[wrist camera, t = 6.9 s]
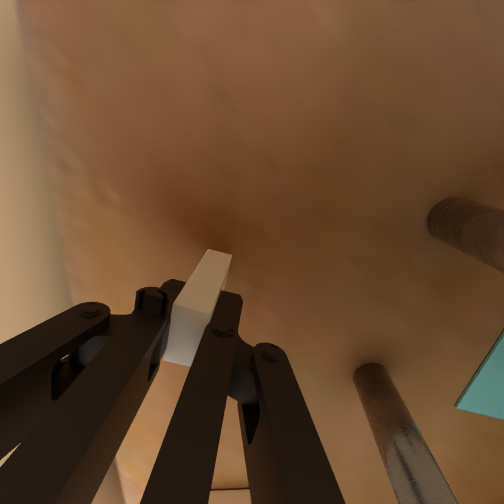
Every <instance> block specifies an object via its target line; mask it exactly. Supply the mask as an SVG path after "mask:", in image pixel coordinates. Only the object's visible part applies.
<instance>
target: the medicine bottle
mask: <svg viewBox="0 0 504 504" xmlns="http://www.w3.org/2000/svg"><path fill="white" fill-rule="evenodd" d="M208 504H251V497H250V490H249V489H241V490H215V491H210V496H209V502H208Z"/></svg>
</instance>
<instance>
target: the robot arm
mask: <svg viewBox="0 0 504 504" xmlns="http://www.w3.org/2000/svg"><path fill="white" fill-rule="evenodd" d="M231 258H232V255H231V254H227V253H223V252H219V251H215V250H211V249H208V250H207V251H206V253H205V254H204V256H203V257H202V259H201V261H200V262H199V264H198V265H197V267H196V268H195V270H194V272H193V273H192V275H191V276H190V278H189V279H188V281H187V282H183V281H179V280H175V279H171V280H169V281H166V282H164V284H163V285H162V286H161V287H160V288H158V287H145V288H142V289H139V290H138V291H136V300H135V308H134V311H133V312H132V313H131V314H128V315H113V314H110V311H111V310H110V308H109V307H108V306H107V305H105V304H103V303H99V302H86V303H81V304H78V305H76V306H74V307H72V308H70V309H68V310H66V311H64V312H62V313H60V314H58V315H56V316H54V317H52V318H50V319H48V320H46V321H44V322H43V323H41V324H39V325H37V326H35V327H33V328H31V329H29V330H27V331H25V332H23V333H21V334H19V335H17V336H15V337H14V338H11V339H9V340H7V341H5V342H4V343H2V344H0V460H1V459H2V458H3V457H5V456H6V455H7V454H8V453H9V452H10V451H12V450H13V449H14V448H15V447H16V446H18V445H19V444H20V443H21V444H20V445H19V446H18V447H17V448H16V449H15V451H14V452H13V453H12V454H11V455H10V457H9V458H8V459H7V460H6V461H5V462H4V464H3V465H2V466H1V467H0V504H91V503H92V501H93V499H94V496H95V495H96V493H97V491H98V489H99V487H100V485H101V483H102V481H103V479H104V477H105V475H106V473H107V471H108V469H109V467H110V465H111V463H112V461H113V459H114V457H115V455H116V453H117V451H118V449H119V447H120V445H121V443H122V441H123V439H124V437H125V435H126V433H127V431H128V429H129V427H130V425H131V423H132V422H133V420H134V418H135V416H136V414H137V412H138V410H139V408H140V406H141V404H142V402H143V400H144V398H145V396H146V394H147V392H148V390H149V388H150V386H151V384H152V382H153V380H154V378H155V376H156V374H157V372H158V370H159V366H160V360H161V358H162V356H163V354H164V359H163V360H164V361H168V362H172V363H176V364H180V365H185V366H189V367H190V370H189V373H188V375H187V378H186V381H185V383H184V386H183V389H182V391H181V394H180V397H179V400H178V402H177V405H176V408H175V410H174V413H173V416H172V418H171V421H170V424H169V426H168V429H167V432H166V435H165V437H164V440H163V443H162V445H161V448H160V451H159V453H158V456H157V459H156V461H155V464H154V467H153V470H152V472H151V475H150V478H149V480H148V483H147V486H146V488H145V491H144V494H143V496H142V499H141V502H140V504H208V502H209V496H210V490H211V485H212V479H213V473H214V468H215V462H216V457H217V451H218V445H219V440H220V434H221V428H222V423H223V417H224V411H225V406H226V400H227V395H228V396H230V397H232V398H233V399H235V400H237V401H238V404H237V406H238V413H239V420H240V427H241V434H242V441H243V448H244V455H245V462H246V469H247V476H248V483H249V490H250V497H251V504H345V501H344V499H343V496H342V494H341V491H340V489H339V486H338V484H337V481H336V478H335V476H334V473H333V471H332V468H331V466H330V463H329V461H328V458H327V456H326V453H325V451H324V448H323V446H322V443H321V441H320V438H319V436H318V433H317V431H316V428H315V426H314V423H313V421H312V418H311V415H310V413H309V410H308V408H307V405H306V403H305V400H304V398H303V395H302V393H301V390H300V388H299V385H298V383H297V380H296V378H295V375H294V373H293V370H292V368H291V365H290V363H289V360H288V358H287V355H286V354H285V352H284V351H283V350H282V349H281V348H280V347H278V346H276V345H274V344H271V343H259V344H257V345H256V346H255V347H253V346H251V345H249V344H247V343H245V342H244V341H243V340H242V339H241V338H240V336H239V334H238V327H239V321H240V315H241V310H242V304H243V300H242V298H241V296H240V295H238V294H234V293H230V292H226V291H224V288H225V284H226V279H227V275H228V271H229V267H230V263H231ZM164 352H165V353H164ZM66 355H68V356H67V357H65V356H66ZM63 357H65V358H64V359H62V358H63ZM61 359H62V360H61Z"/></svg>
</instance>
